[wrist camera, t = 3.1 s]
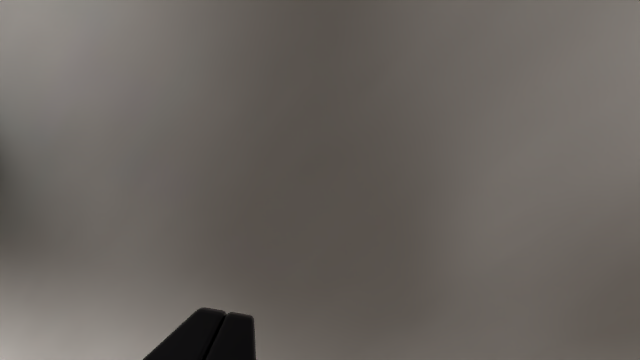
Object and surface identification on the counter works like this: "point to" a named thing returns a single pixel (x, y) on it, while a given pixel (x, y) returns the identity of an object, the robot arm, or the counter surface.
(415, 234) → the counter surface
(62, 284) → the counter surface
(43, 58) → the counter surface
